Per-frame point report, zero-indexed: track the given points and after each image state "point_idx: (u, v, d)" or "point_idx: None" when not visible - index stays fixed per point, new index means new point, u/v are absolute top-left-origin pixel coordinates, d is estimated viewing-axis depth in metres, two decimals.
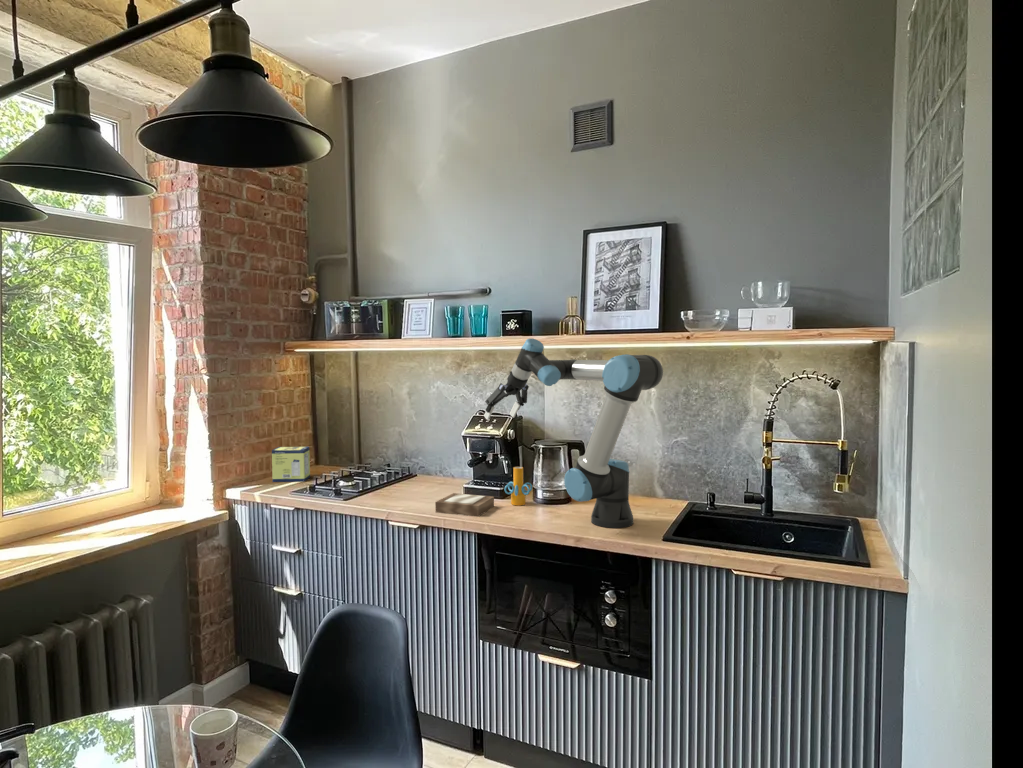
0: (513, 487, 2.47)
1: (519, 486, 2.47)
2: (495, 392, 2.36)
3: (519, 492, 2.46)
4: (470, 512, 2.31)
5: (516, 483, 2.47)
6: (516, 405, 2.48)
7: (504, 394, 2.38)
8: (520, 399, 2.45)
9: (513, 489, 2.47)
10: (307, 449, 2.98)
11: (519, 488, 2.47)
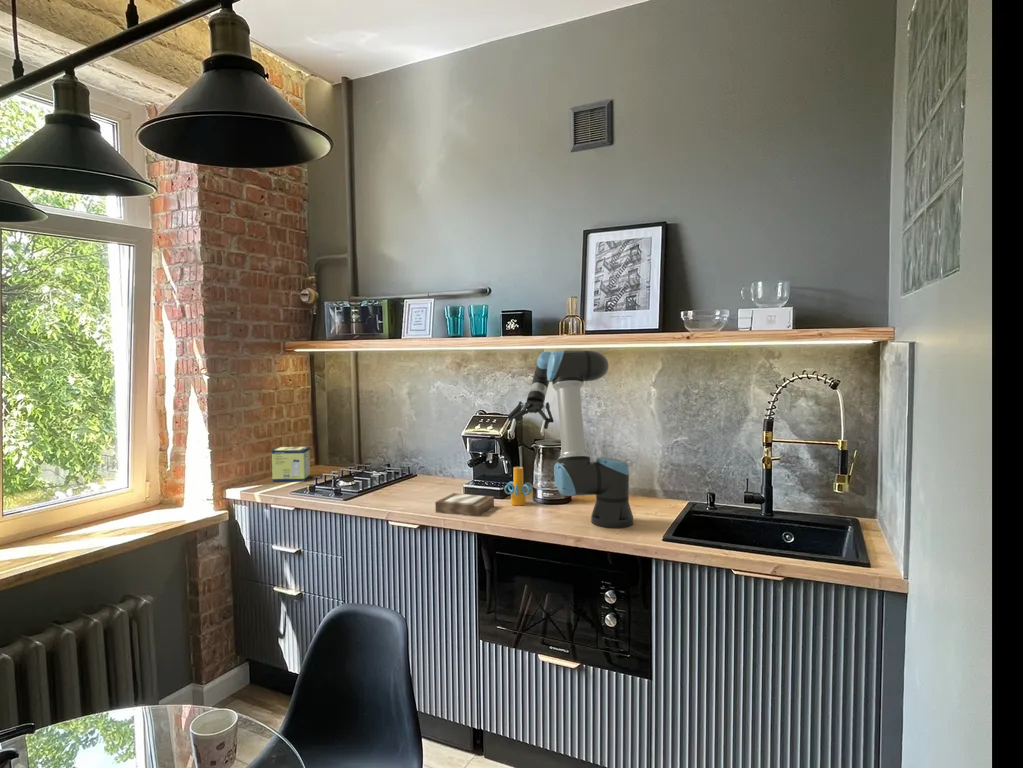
0: (513, 487, 2.47)
1: (519, 486, 2.47)
2: None
3: (519, 492, 2.46)
4: (470, 512, 2.31)
5: (516, 483, 2.47)
6: None
7: None
8: (543, 414, 2.61)
9: (513, 489, 2.47)
10: (307, 449, 2.98)
11: (519, 488, 2.47)
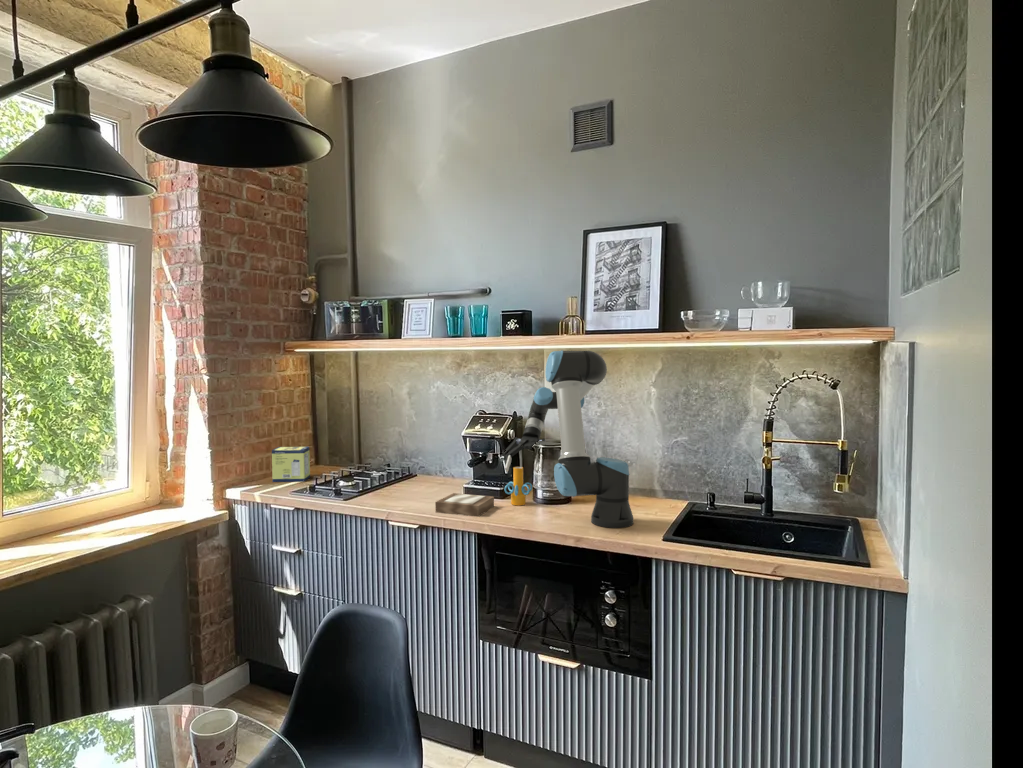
0: (513, 487, 2.47)
1: (519, 486, 2.47)
2: None
3: (519, 492, 2.46)
4: (470, 512, 2.31)
5: (516, 483, 2.47)
6: None
7: None
8: None
9: (513, 489, 2.47)
10: (307, 449, 2.98)
11: (519, 488, 2.47)
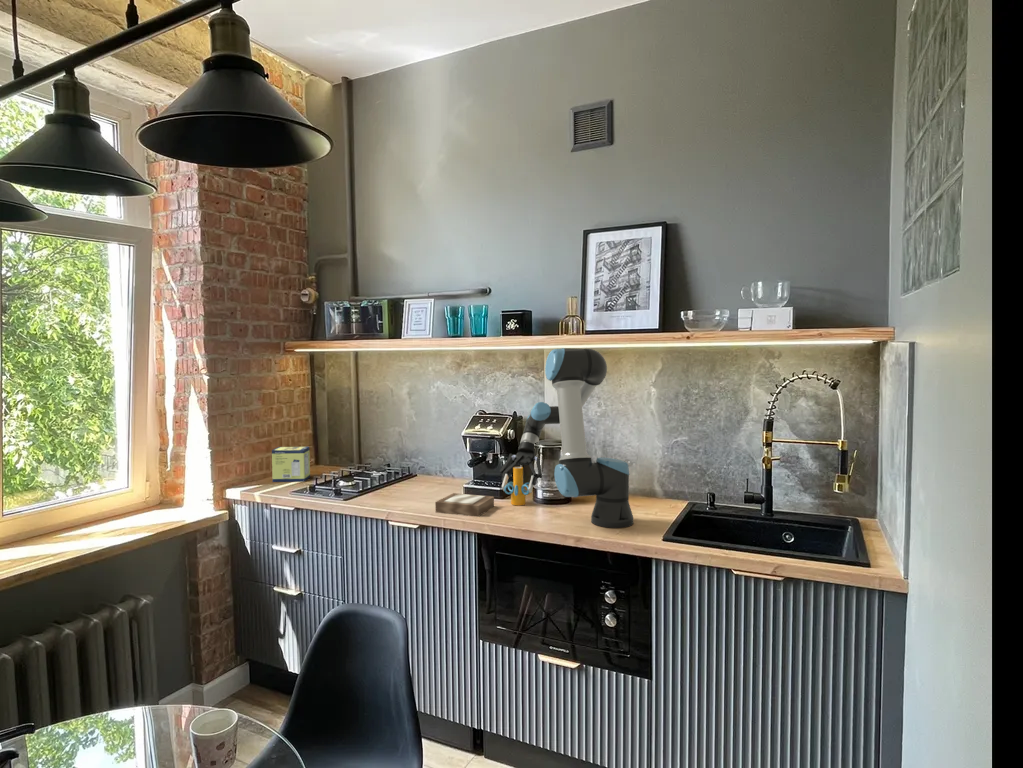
0: (513, 487, 2.47)
1: (519, 486, 2.47)
2: None
3: (519, 492, 2.46)
4: (470, 512, 2.31)
5: (516, 483, 2.47)
6: None
7: None
8: (532, 468, 2.49)
9: (513, 489, 2.47)
10: (307, 449, 2.98)
11: (519, 488, 2.47)
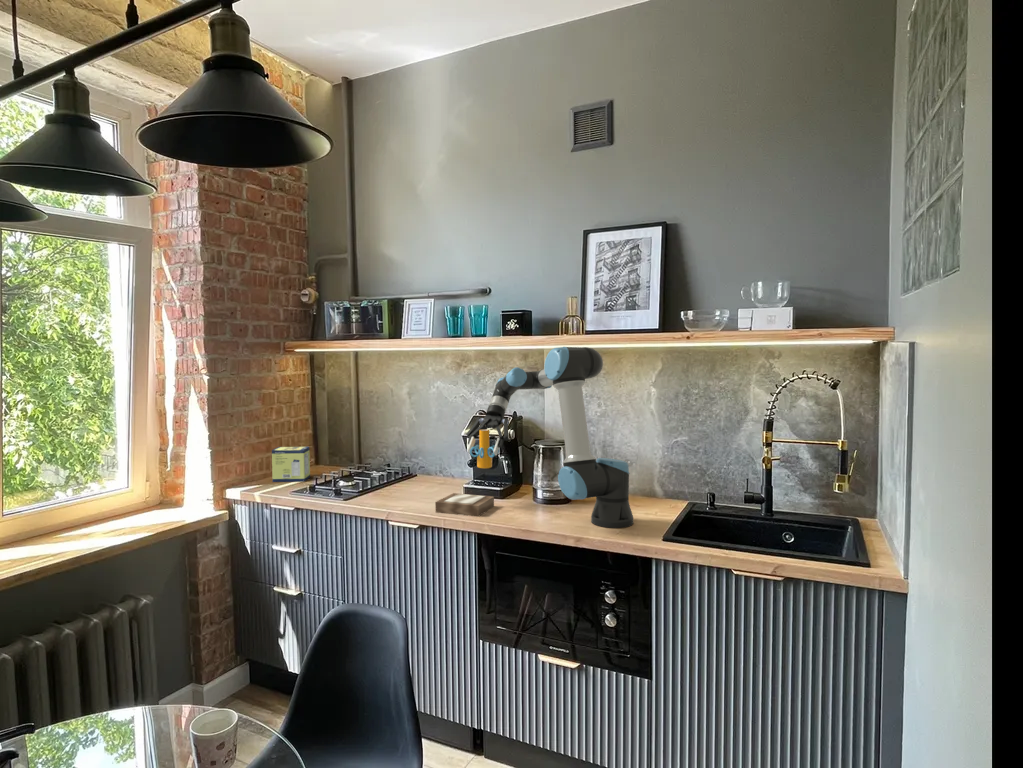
0: (479, 450, 2.44)
1: (485, 449, 2.43)
2: None
3: (485, 455, 2.43)
4: (470, 512, 2.31)
5: (482, 446, 2.43)
6: None
7: None
8: (499, 431, 2.45)
9: (479, 452, 2.44)
10: (307, 449, 2.98)
11: (485, 451, 2.43)
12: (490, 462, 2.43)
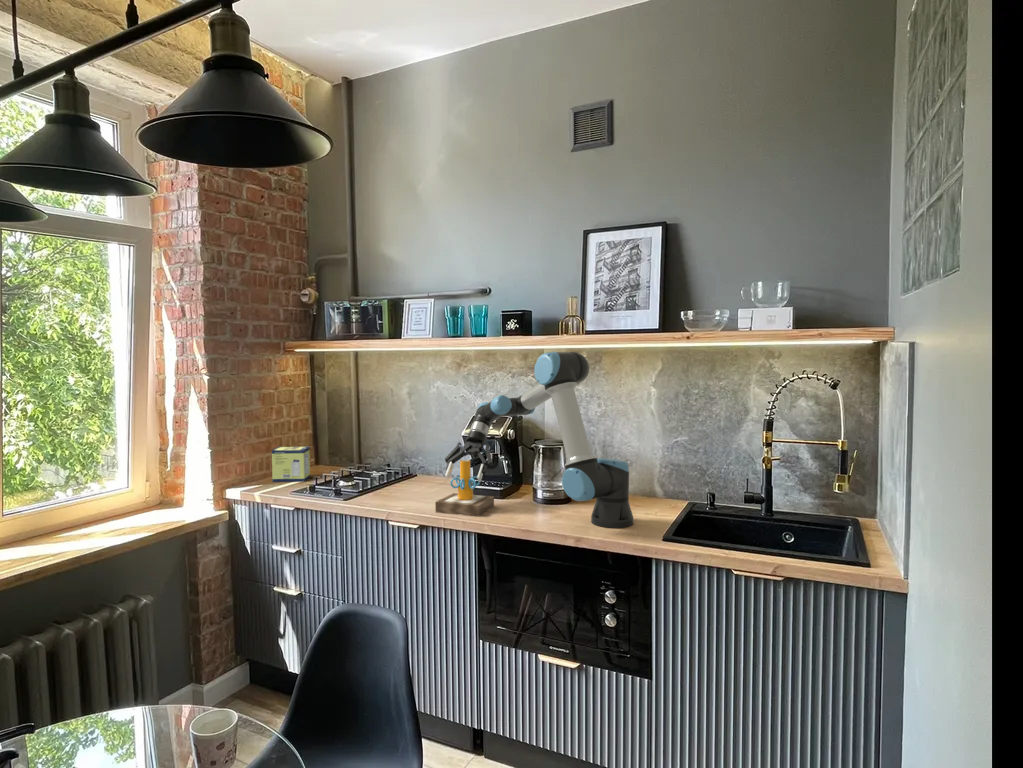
0: (460, 481, 2.39)
1: (466, 480, 2.38)
2: None
3: (466, 486, 2.38)
4: (470, 512, 2.31)
5: (462, 477, 2.38)
6: None
7: None
8: (481, 457, 2.41)
9: (460, 483, 2.39)
10: (307, 449, 2.98)
11: (466, 482, 2.38)
12: (471, 493, 2.39)
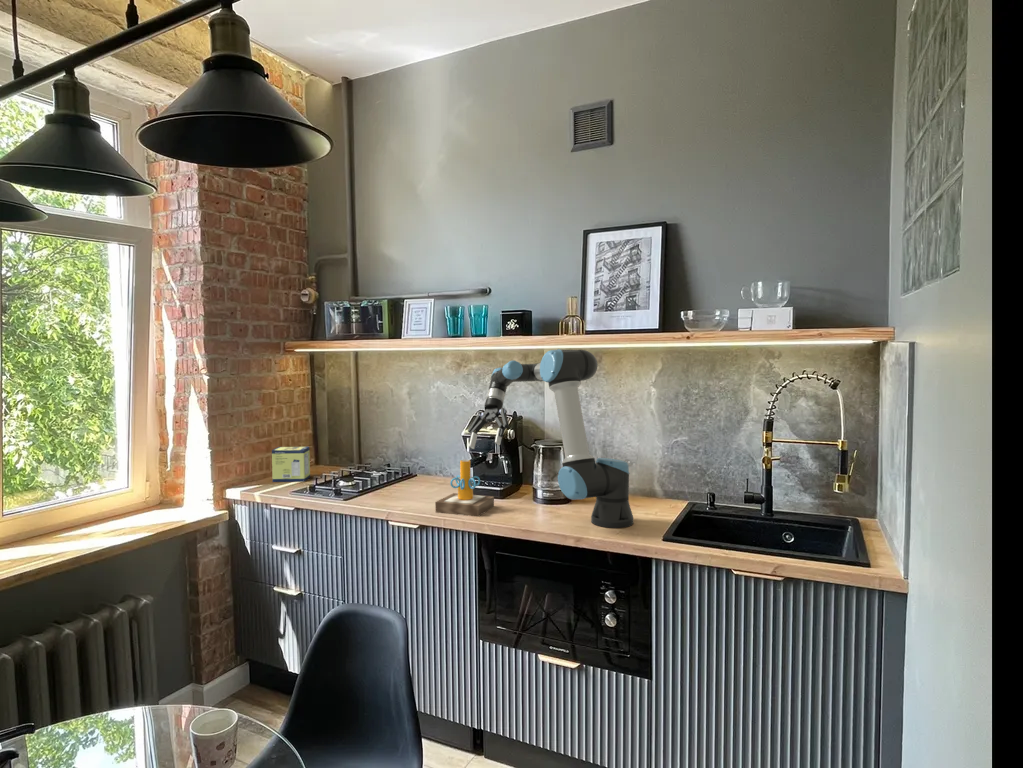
0: (460, 481, 2.39)
1: (466, 480, 2.38)
2: None
3: (466, 486, 2.38)
4: (470, 512, 2.31)
5: (462, 477, 2.38)
6: None
7: None
8: (498, 421, 2.50)
9: (460, 483, 2.39)
10: (307, 449, 2.98)
11: (466, 482, 2.38)
12: (471, 493, 2.39)
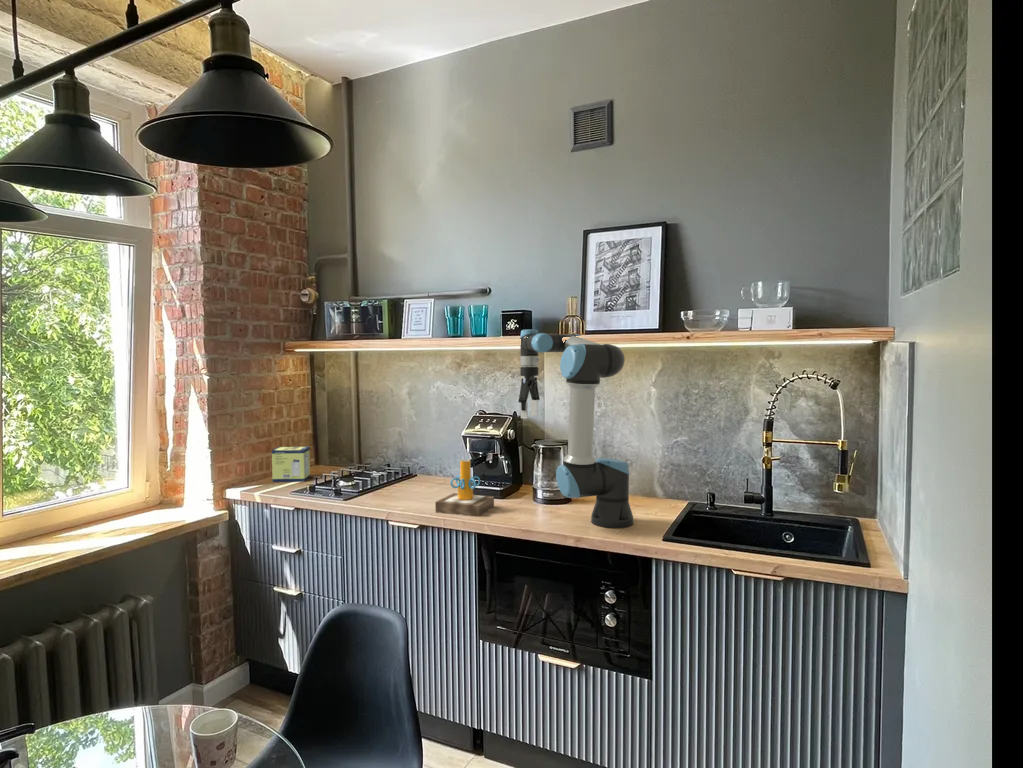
0: (460, 481, 2.39)
1: (466, 480, 2.38)
2: None
3: (466, 486, 2.38)
4: (470, 512, 2.31)
5: (463, 477, 2.38)
6: None
7: None
8: None
9: (460, 483, 2.39)
10: (307, 449, 2.98)
11: (466, 482, 2.38)
12: (471, 493, 2.39)
